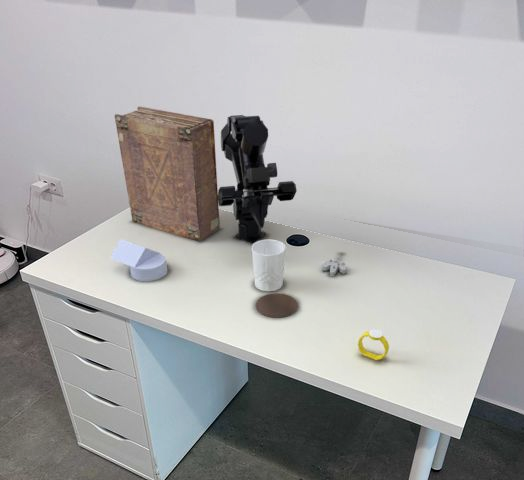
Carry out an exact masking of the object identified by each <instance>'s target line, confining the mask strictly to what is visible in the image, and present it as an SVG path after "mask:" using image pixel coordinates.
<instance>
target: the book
mask: <svg viewBox="0 0 524 480" xmlns="http://www.w3.org/2000/svg"><path fill="white" fill-rule="evenodd" d="M136 108H137V110H133V111H130V112H127V113H125V114H119V113H115V114H114V121H115V126H116V133H117V139H118V144H119V151H120V156H121V162H122V167H123V174H124V179H125V180H124V181H125V186H126V191H127V196H128V203H129V209H130V215H131V220H132V222H133V223H135V224H139V225H141V226H145V227H149V228H151V229H152V228H153V229H156V230H159V231H163V232H166V233H170V234H173V235H175V236H180V237H183V238H187V239H189V240H193V241H196V242H202V241H203V240H205V239H206V238H207V237H208V238H209V236H211V235H212V234H214V233H216V232H217V231H218V230H220V229H221V228H220V227H221V225H220V211H219V210H220V209H219V208H220V207H219V203H218V190H219V189H218V176H217V175H218V173H217V157H216V139H215V122H214V119H212V118H211V119H210V118H206V117H200V116H195V115H189V114H184V113H178V112H174V111H167V110H163V109H156V108H150V107H145V106H137V107H136Z"/></svg>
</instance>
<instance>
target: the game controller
mask: <svg viewBox="0 0 524 480" xmlns="http://www.w3.org/2000/svg"><path fill="white" fill-rule="evenodd" d="M341 255H343V252H340V254H339V257H337V259H336V260H335V259H332V258H330V259H327V260H325V261H324V263H323V264H322V270H323V271H325V272H326V271H328V270H329V276H330V277H334V276H335V275H336V273H338V271H339V272H340V274H343V275H344V274H345V273H346V271H347V264H346V262H343V261H340V258H341Z"/></svg>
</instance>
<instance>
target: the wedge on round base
mask: <svg viewBox="0 0 524 480" xmlns="http://www.w3.org/2000/svg"><path fill="white" fill-rule="evenodd" d="M109 259H110V260H113V261H115V262H118V263H120V264H123V265H126V266H128V267H129V270H130V276H131V277H132V278H133V279H134V280H136V281H138V282H139V281H140V282H153V281H157V280H160V279H162V278H164V277H165V276H166V275H167V273H168V265H167V258H166V256H165V255H164V254H163V253H161V252H158V251H156V250H153V249H150V248H147V247H144V246H143V245H138V244H136V243H134V242H130V241H127V240H124V239H122V238H121V239H119V242H118V243H117V244H116V247H115V248H114V250H113V252H112V254H111V255H110V256H109Z"/></svg>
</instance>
